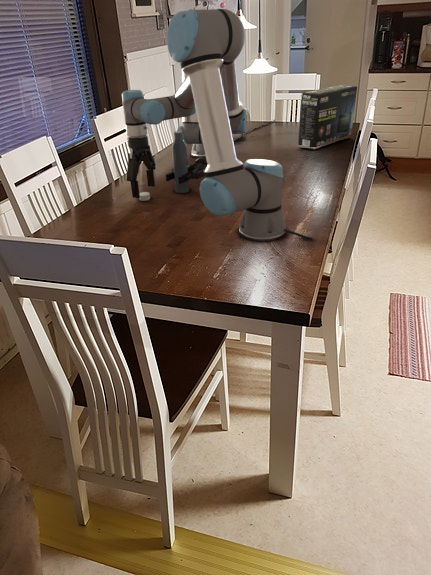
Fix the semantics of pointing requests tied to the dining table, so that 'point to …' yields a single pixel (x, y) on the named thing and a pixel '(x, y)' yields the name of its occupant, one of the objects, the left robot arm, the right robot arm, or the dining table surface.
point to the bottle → (179, 162)
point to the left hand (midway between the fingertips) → (173, 179)
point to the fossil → (237, 136)
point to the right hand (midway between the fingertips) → (144, 191)
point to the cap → (144, 196)
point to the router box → (326, 115)
